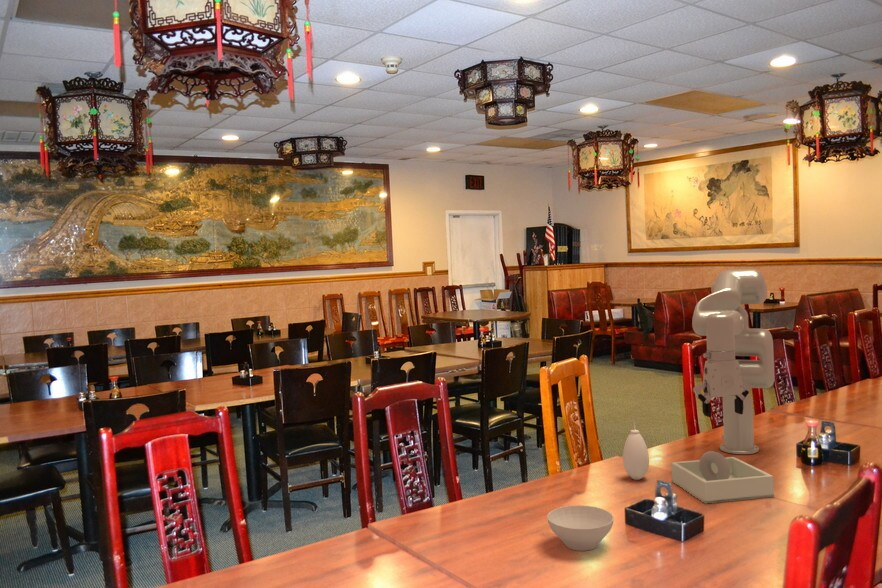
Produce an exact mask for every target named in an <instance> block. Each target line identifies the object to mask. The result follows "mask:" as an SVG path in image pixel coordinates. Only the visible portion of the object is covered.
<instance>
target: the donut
mask: <svg viewBox="0 0 882 588" xmlns="http://www.w3.org/2000/svg"><path fill="white" fill-rule="evenodd" d="M699 460H700V462H699V467H700V471H701V474H702V476H703V477H704V479H705V480H706V481H713V480H723V479H729V477H730V466H729V464H728V461H727V460H726V457H725V455H723V454H721V453H720V452H717V451H714V450H713V451H712V450H709V451H706V452H705V453H703V454H702V455H701V456H700V459H699ZM711 463H715V464H716V466H717V468H718V473H717V474H716V473H714V472H713V471H712V468H711Z"/></svg>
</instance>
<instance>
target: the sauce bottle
mask: <svg viewBox="0 0 882 588" xmlns="http://www.w3.org/2000/svg"><path fill="white" fill-rule="evenodd" d="M649 456H650V455H649V450H648V447H647V444H646V441H645V439H644V438H643V436H642V435H641V433H640V431H639V430H638V429H636V422H635V421H634V422H633V429H631V430H630V433H629V434H628V436H627V438H626V441H625V443H624V446H623V452H622V462H623V467H624V469H625V472H626V473H627V475H628V476H629V477H630V478H631V479H633V480H634V481H635V480H636V481H639V480H641V479H643V477H645V476H646V475H647V472H648V470H649V467H650V466H649V465H650V457H649Z"/></svg>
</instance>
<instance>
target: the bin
mask: <svg viewBox="0 0 882 588" xmlns="http://www.w3.org/2000/svg"><path fill="white" fill-rule="evenodd" d="M725 458H726V460H727V461H728V464H729V466H730V477H729V479H723V480H713V481H706V480H705V479H704V477H703V476H702V474H701V471H700V467H699V462H700V459H697V460H685V461H684V460H683V461H674V462H671V463H670V464H671V469H670V470H671V483H673V484H674V483H675V484H674V485H676V484H677V485H679V486H680V487H682V488H683V489H684V490H683V489H682V488H681V489H682V490H683V491H685V490H686V491H687V493H688V492H689V493H688V494H689V495H691V494H692V496H693V497H694V496H695V497H694V498H696V499H697V498H698V499H697V500H699V501H700V500H701V501H700V502H702V503H703V502H704V503H703V504H705V505H708V504H707V503H712V504H718V503H717V502H722V503H729V502H728V501H731V502H739V501H738V500H741V501H749V500H757V499H758V500H759V499H770V498H775V489H774V481H775V480H774V475H772V474H769V472H766V471H764V470H762V469H760V468H757V467H756V466H754V465H751V464H749V463H747V462H745V461H743V460H741V459H739V458H737V457H735V456H727V457H725ZM711 468H712V471H713V472H714V473H716V474H717V473H718V468H717V466H716V464H715V463H711ZM677 485H676V486H677ZM679 486H678V487H679ZM680 487H679V488H680ZM686 491H685V492H686Z"/></svg>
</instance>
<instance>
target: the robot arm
mask: <svg viewBox="0 0 882 588" xmlns="http://www.w3.org/2000/svg"><path fill="white" fill-rule="evenodd" d="M710 289H711V290H710V291H711V293H710V294H708V295H707V296H705V297H703V298H701V299H700V300H699V301H698V302H697V303H696V304H695V307H694V310H693V313H692V314H693V315H692V320H691V321H692V323H691V325H692V326H691V327H692V330H693V331H694V333H695V334H696V335H698V336H701V337H702V336H705V337H706V352H705V353H703V354H702V357H703V358H704V359H706V360H705V362H704V368H703V379H702V382H700V383H699V384H698V385H695V386H694V387H693V388H692V390H693V393H694V394H695V395H696V398H697V399H698V400H699V401H700V402H701V404H702V405H701V406H702V414H703V415H704V417H708V418H711V417H712V404H711V403H710V402H711V400H712V398H713V397H714V398H722V414H723V415H722V417H723V418H722V419H723V434H722V435H721V439H723V443H721V444H720V445H719V449H720V451H722V452H725V453H729V454H733V455H753V454H756V453H758V452H759V451H760V448H759V446H758V445H756V444H755V443H754V442H755V441H754V440H755V438H754V416H753V415H754V410H753V399H752V397H751V395H750V394H749V393H750V392H749V391H750V390H751V389H768V388H771V387H772V386H773V385H774V383H775V357H774V340H773V335H772V334H771V332H770V331H769V330H768V329H767V328H760V327H759V328H758V327H757V328H752V327H751V328H750V327H749V314H748V311H747V310H746V309H745V308H744V307H743V306H742V305H759V304H763V303H764V302H765V301H766V299H767V297H768V287H767V283H766V279H765V277H764V275H763V273H762V272H761V271H759V270H758V269H754V268H750V269H749V268H747V269H727V270H723V271H721V272H719V273H718V274H717V276H716V278H715V280H714V282H713V283H712V284H711V288H710ZM736 356H737V357H757V358H758V360H757V359H736ZM702 390H703V394H702V392H701V391H702Z"/></svg>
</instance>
